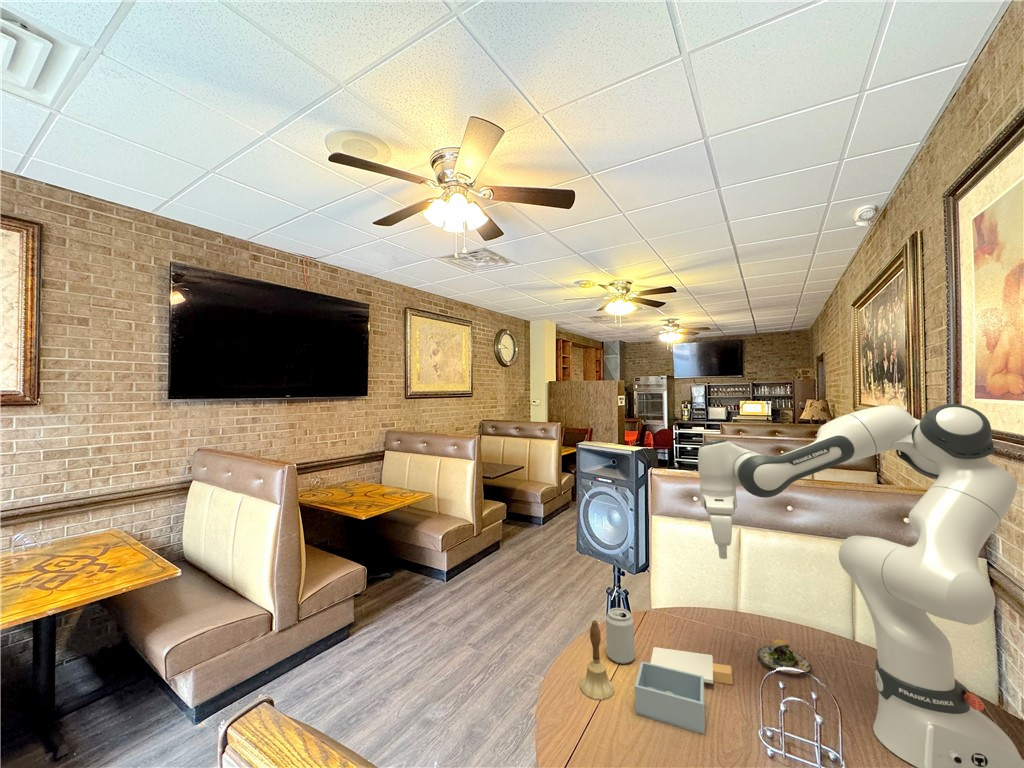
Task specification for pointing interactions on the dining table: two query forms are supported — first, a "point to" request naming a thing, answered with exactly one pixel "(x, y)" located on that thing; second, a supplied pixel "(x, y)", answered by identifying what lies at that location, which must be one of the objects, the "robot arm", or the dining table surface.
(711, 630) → the dining table surface
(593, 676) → the hand bell
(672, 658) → the lid
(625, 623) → the can
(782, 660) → the burger
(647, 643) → the dining table surface
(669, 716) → the tub
